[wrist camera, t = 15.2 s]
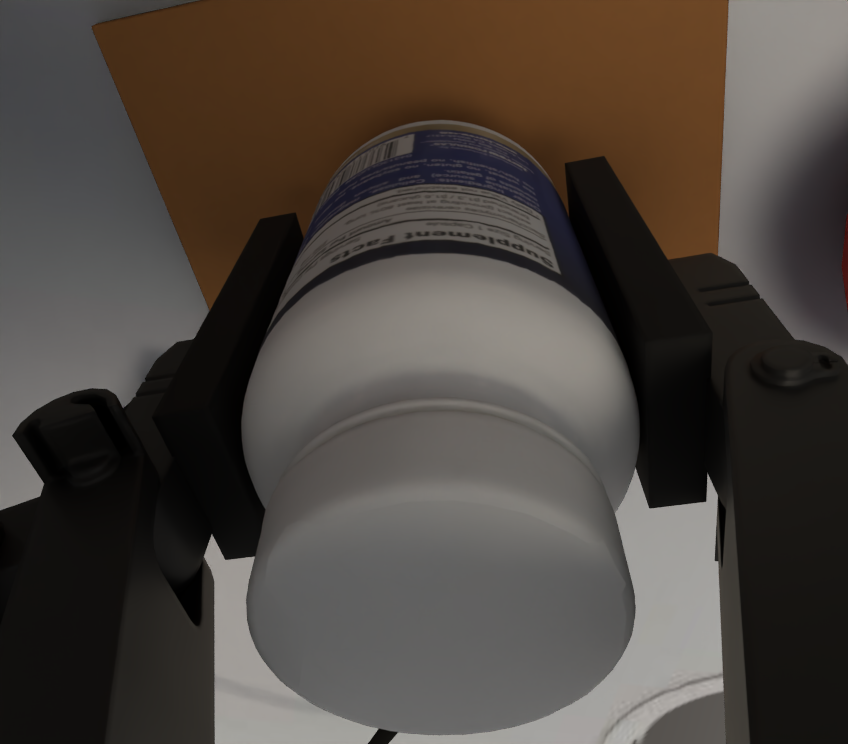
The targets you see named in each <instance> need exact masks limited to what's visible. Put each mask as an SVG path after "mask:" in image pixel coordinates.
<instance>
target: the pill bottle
mask: <svg viewBox="0 0 848 744" xmlns="http://www.w3.org/2000/svg"><path fill="white" fill-rule="evenodd" d="M241 431H242V446H243V452H244V458H245V463H246V466H247V469H248V472H249V475H250V478H251V480H252V483H253V485H254V488H255V490H256V493H257V495H258V497H259V499H260V501H261V502H262V504H263V506H264V508H265V509H266V510H265V514H264V519H263V523H262V530H261V535H260V539H259V543H258V547H257V551H256V555H255V559H254V563H253V567H252V571H251V575H250V579H249V585H248V591H247V598H246V604H247V621H248V626H249V630H250V634H251V637H252V639H253V642H254V644H255V647H256V649H257V651H258V652H259V654H260V656H261V657H262V659H263V660H264V662H265V663H266V664H267V666H268V667H269V668H270V669H271V670H272V672H273V673H274V674H275V675H276V676H277V677H278V678H279V679H280V681H282V682H283V683H284V684H285V685H286V686H288V687H289V688H290V689H292V690H293V691H294V692H296V693H297V694H298V695H300V696H301V697H303V698H304V699H306V700H307V701H309V702H310V703H312V704H314V705H316V706H318V707H320V708H322V709H324V710H326V711H328V712H330V713H333V714H335V715H337V716H340V717H342V718H345V719H348V720H351V721H354V722H357V723H360V724H363V725H366V726H370V727H375V728H379V729H384V730H388V731H394V732H401V733H410V734H424V735H464V734H473V733H482V732H491V731H496V730H501V729H506V728H511V727H515V726H519V725H522V724H525V723H529V722H532V721H535V720H538V719H540V718H543V717H546V716H548V715H550V714H552V713H554V712H556V711H558V710H560V709H562V708H564V707H566V706H568V705H570V704H572V703H574V702H575V701H577V700H579V699H580V698H582V697H583V696H585V695H587V694H588V693H589V692H590V691H591V690H593V689H594V688H595V687H596V686H597V685H598V684H599V683H600V682H601V681H602V680H603V679H604V678H605V677H606V676H607V675H608V674H609V673H610V672H611V671H612V670H613V668H614V667H615V665H616V664H617V662H618V661H619V660H620V658H621V656H622V655H623V653H624V651H625V649H626V647H627V645H628V643H629V640H630V638H631V635H632V631H633V625H634V619H635V608H636V606H635V595H634V590H633V585H632V581H631V577H630V573H629V569H628V565H627V561H626V557H625V553H624V549H623V545H622V540H621V536H620V532H619V528H618V524H617V521H616V517H615V512H616V511H617V509H618V507H619V506H620V504H621V502H622V501H623V499H624V497H625V494H626V492H627V490H628V487H629V485H630V482H631V479H632V477H633V474H634V470H635V466H636V462H637V456H638V451H639V441H640V417H639V406H638V401H637V397H636V393H635V389H634V385H633V382H632V379H631V375H630V372H629V368H628V365H627V362H626V360H625V358H624V355H623V352H622V349H621V347H620V344H619V341H618V339H617V336H616V333H615V331H614V328H613V326H612V323H611V321H610V318H609V316H608V313H607V311H606V308H605V306H604V303H603V301H602V298H601V296H600V293H599V291H598V289H597V286H596V284H595V281H594V279H593V276H592V274H591V271H590V269H589V266H588V264H587V261H586V259H585V256H584V254H583V251H582V248H581V246H580V244H579V241H578V239H577V236H576V234H575V231H574V229H573V226H572V224H571V221H570V219H569V216H568V213H567V211H566V208H565V206H564V203H563V201H562V199H561V197H560V195H559V193H558V192H557V190H556V188H555V186H554V184H553V182H552V181H551V179H550V177H549V176H548V174H547V173H546V172H545V170H544V169H543V168H542V166H541V165H540V164H539V163H538V162H537V161H536V160H535V159H534V158H533V157H532V156H531V155H530V154H529V153H528V152H527V151H526V150H525V149H524V148H522V147H521V146H520V145H518V144H517V143H515V142H514V141H512V140H511V139H509V138H507V137H505V136H503V135H501V134H500V133H497V132H495V131H493V130H490V129H487V128H485V127H481V126H478V125H475V124H470V123H466V122H459V121H452V120H431V121H421V122H415V123H410V124H406V125H403V126H399V127H396V128H394V129H391V130H389V131H386V132H384V133H382V134H380V135H378V136H377V137H375V138H373V139H371V140H370V141H368V142H367V143H365V144H364V145H362V146H361V147H360V148H358V149H357V150H356V151H355V152H353V153H352V154H351V155H350V156H349V157H348V158H347V159H346V160H345V161H344V162H343V163H342V165H341V166H340V167H339V168H338V170H337V171H336V172H335V174H334V175H333V176H332V178H331V179H330V181H329V183H328V184H327V186H326V188H325V190H324V192H323V194H322V196H321V197H320V200H319V202H318V205H317V207H316V210H315V212H314V214H313V216H312V220H311V222H310V225H309V228H308V230H307V232H306V235H305V237H304V240H303V243H302V245H301V248H300V250H299V253H298V255H297V258H296V260H295V263H294V266H293V268H292V271H291V273H290V275H289V278H288V280H287V282H286V285H285V288H284V290H283V293H282V295H281V297H280V299H279V303H278V306H277V308H276V310H275V313H274V315H273V318H272V320H271V323H270V325H269V327H268V329H267V332H266V335H265V337H264V339H263V342H262V344H261V346H260V349H259V352H258V356H257V359H256V362H255V365H254V368H253V371H252V374H251V376H250V379H249V383H248V386H247V390H246V394H245V398H244V404H243V411H242V420H241Z"/></svg>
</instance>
